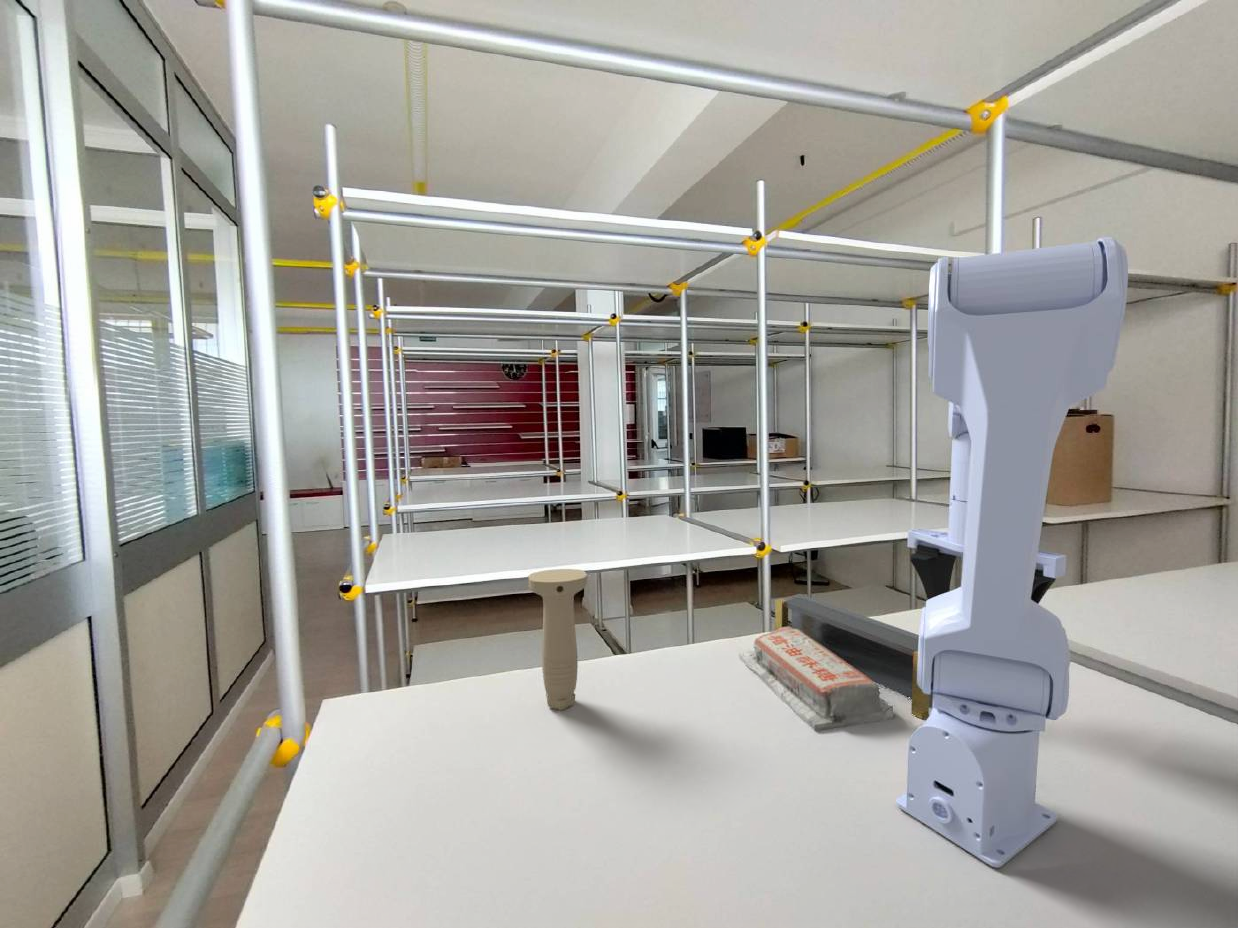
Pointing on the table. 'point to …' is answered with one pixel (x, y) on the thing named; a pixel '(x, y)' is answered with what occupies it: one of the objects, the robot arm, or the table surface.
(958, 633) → the robot arm
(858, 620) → the grey long bar
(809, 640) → the packaged product
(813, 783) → the table surface
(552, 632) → the handle
